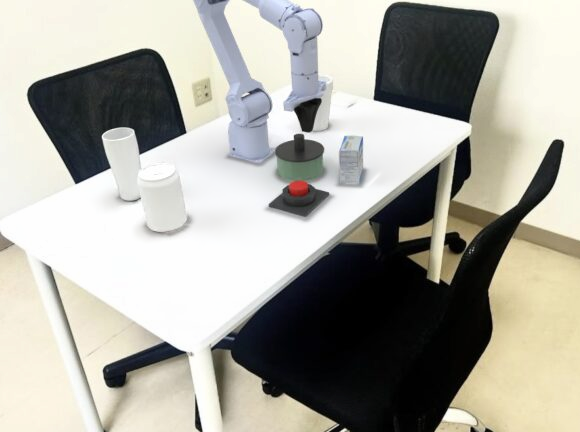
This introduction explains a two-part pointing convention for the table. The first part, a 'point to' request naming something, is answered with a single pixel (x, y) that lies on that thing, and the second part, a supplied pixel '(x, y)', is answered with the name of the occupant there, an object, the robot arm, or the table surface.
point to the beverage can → (162, 197)
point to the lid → (299, 150)
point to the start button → (298, 188)
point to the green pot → (300, 169)
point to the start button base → (299, 201)
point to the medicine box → (351, 159)
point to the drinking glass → (123, 160)
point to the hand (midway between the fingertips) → (307, 131)
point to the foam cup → (324, 104)
